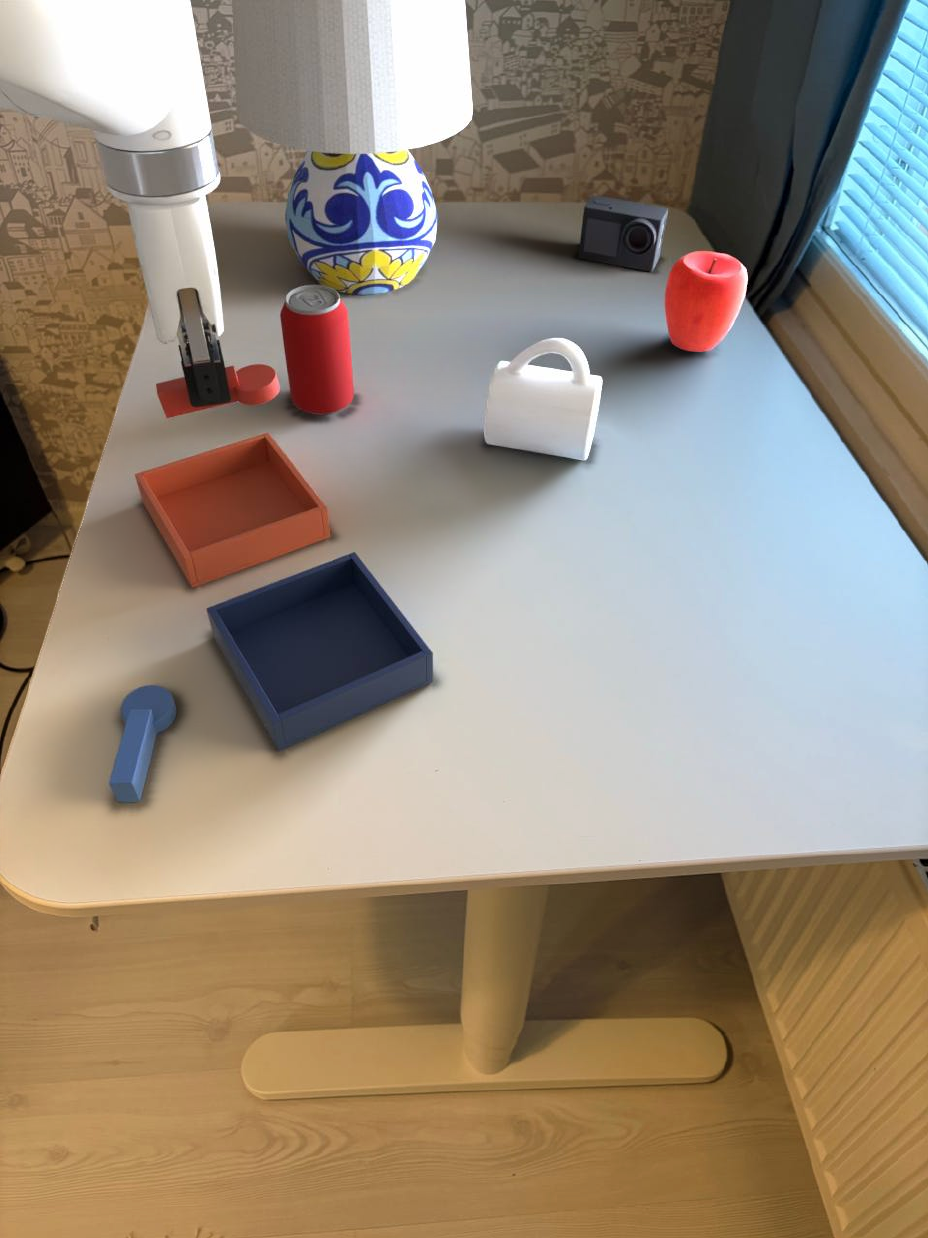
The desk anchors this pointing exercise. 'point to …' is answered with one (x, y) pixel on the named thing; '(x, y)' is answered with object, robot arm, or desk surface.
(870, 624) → the desk surface
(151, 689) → the blue spoon
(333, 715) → the blue bin
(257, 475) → the red bin
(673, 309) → the apple
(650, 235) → the digital camera
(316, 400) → the beverage can
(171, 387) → the red spoon
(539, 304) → the desk surface
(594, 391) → the white handbag
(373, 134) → the table lamp
